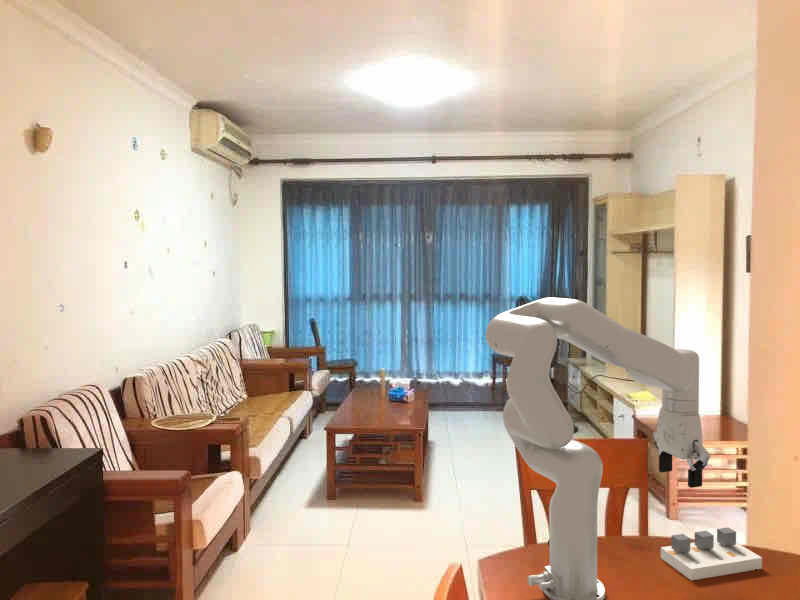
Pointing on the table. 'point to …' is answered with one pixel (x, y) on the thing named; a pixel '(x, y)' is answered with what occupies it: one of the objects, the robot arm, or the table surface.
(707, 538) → the middle switch
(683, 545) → the left switch
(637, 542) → the table surface
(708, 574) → the switch box
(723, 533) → the right switch
